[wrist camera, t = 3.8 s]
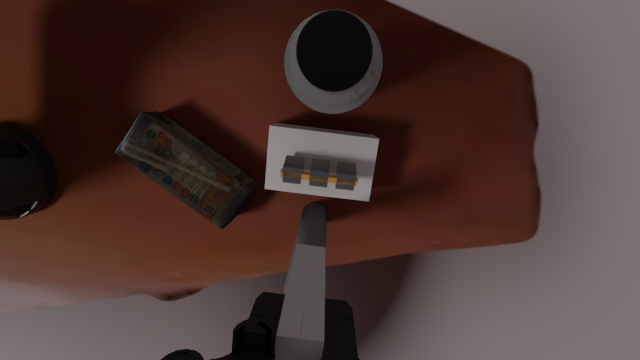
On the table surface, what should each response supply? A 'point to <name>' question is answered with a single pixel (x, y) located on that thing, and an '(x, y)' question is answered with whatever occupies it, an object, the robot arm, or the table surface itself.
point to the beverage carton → (186, 168)
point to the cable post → (310, 230)
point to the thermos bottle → (333, 61)
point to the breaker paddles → (319, 173)
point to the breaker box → (321, 147)
